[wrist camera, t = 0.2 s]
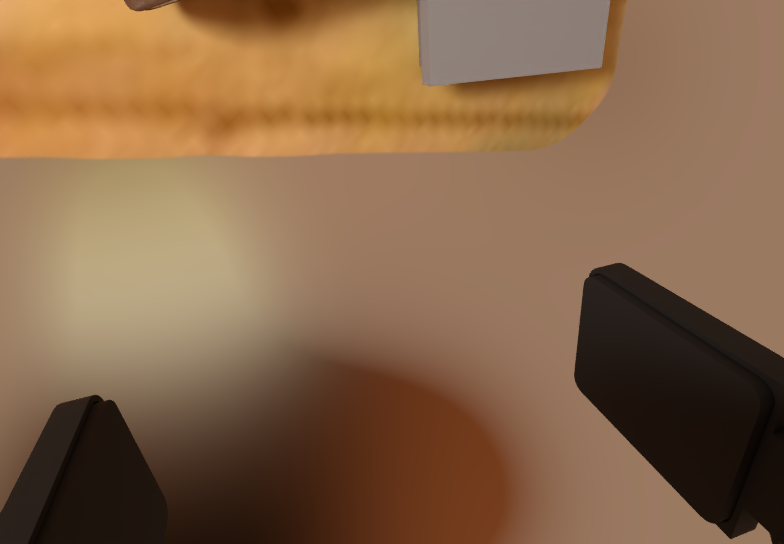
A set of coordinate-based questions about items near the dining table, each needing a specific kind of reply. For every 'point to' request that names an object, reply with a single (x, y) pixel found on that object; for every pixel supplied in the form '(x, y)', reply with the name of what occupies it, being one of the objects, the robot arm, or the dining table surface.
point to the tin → (147, 4)
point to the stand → (508, 38)
